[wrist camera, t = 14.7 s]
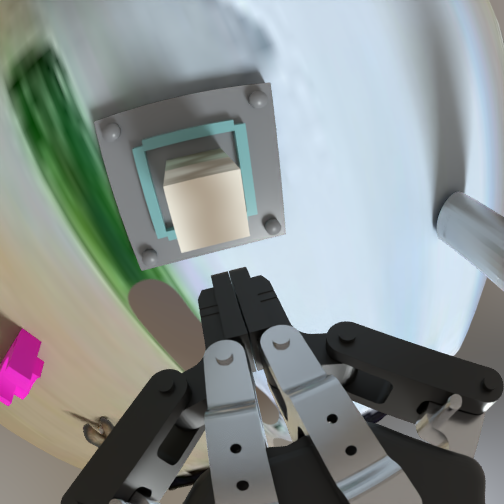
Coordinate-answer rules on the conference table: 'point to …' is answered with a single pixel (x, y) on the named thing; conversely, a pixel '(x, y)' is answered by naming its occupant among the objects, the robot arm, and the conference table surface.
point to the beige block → (205, 199)
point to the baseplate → (186, 143)
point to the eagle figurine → (93, 435)
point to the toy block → (20, 367)
